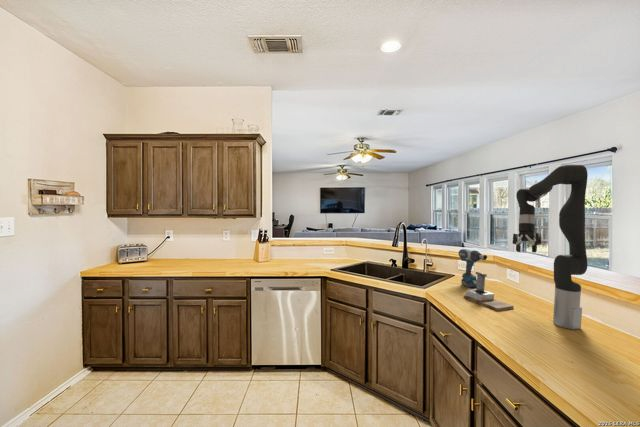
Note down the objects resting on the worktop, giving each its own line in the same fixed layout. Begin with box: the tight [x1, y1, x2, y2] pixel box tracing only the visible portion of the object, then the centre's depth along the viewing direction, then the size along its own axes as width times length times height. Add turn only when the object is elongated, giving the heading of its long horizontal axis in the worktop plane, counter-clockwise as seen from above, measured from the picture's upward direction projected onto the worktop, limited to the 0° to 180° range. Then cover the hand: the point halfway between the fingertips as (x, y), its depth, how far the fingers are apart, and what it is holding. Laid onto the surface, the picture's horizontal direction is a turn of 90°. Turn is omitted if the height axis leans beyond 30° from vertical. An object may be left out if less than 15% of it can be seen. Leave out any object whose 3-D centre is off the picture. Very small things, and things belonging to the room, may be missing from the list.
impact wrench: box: [458, 248, 488, 289], centre depth 199 cm, size 8×22×25 cm, turn 15°
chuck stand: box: [462, 288, 515, 312], centre depth 166 cm, size 22×12×5 cm, turn 21°
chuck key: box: [475, 271, 488, 294], centre depth 171 cm, size 7×4×14 cm, turn 22°
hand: (526, 252), depth 164 cm, fingers open, 8 cm apart
